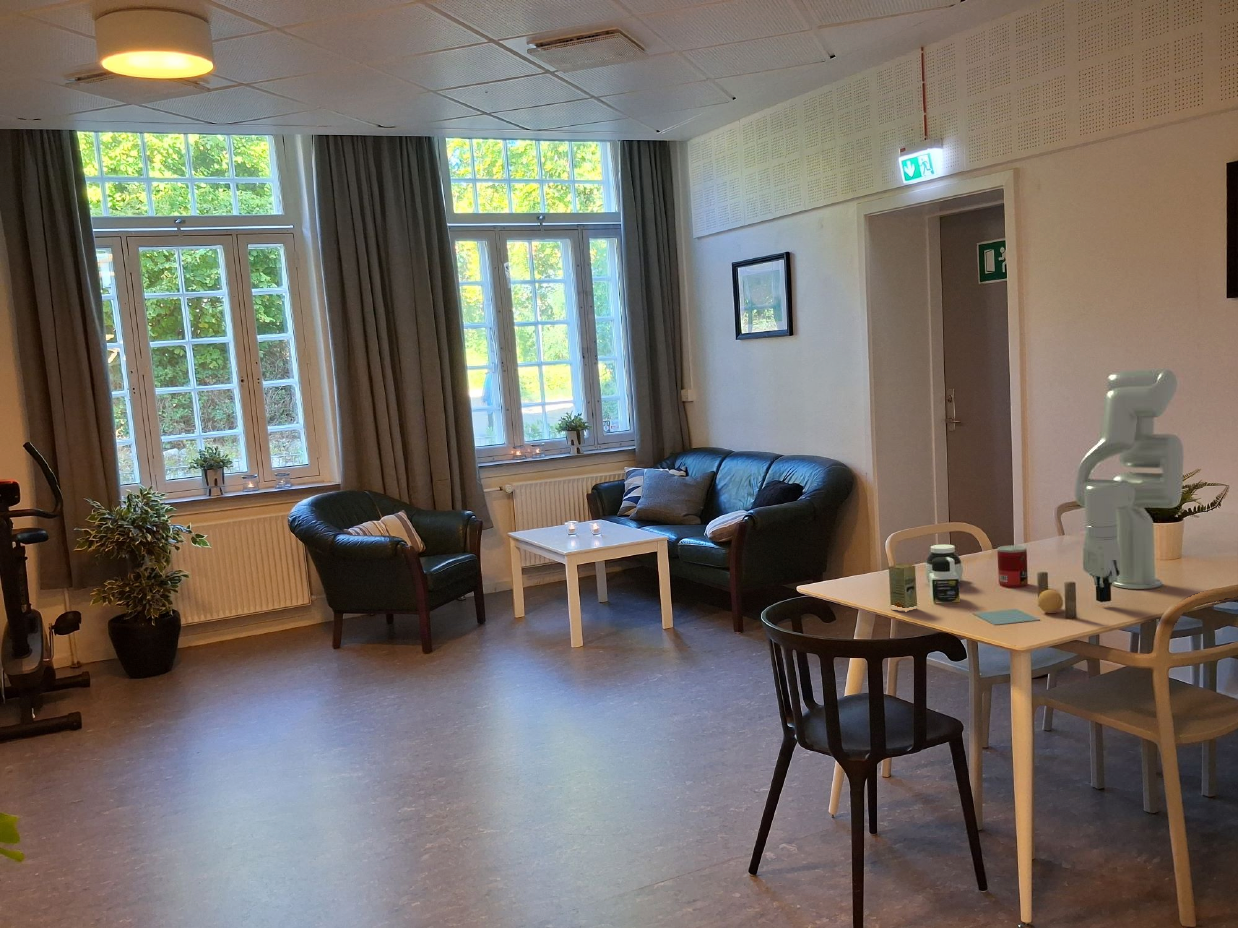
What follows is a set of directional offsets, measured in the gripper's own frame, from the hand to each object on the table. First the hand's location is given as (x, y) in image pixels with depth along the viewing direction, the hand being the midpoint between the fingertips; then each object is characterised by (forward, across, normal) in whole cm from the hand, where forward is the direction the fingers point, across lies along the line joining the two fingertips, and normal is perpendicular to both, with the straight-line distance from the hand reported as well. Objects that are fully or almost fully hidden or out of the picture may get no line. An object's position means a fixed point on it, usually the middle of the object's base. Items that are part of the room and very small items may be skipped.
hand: (1103, 600), depth 265 cm
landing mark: (+2, 0, -27) cm, 27 cm away
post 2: (+2, +6, -13) cm, 15 cm away
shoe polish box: (+2, -18, -47) cm, 50 cm away
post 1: (+2, -7, -13) cm, 15 cm away
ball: (-2, 0, -15) cm, 15 cm away
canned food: (+2, -32, -8) cm, 33 cm away
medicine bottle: (+2, -23, -33) cm, 40 cm away
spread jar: (+2, -42, -24) cm, 48 cm away
